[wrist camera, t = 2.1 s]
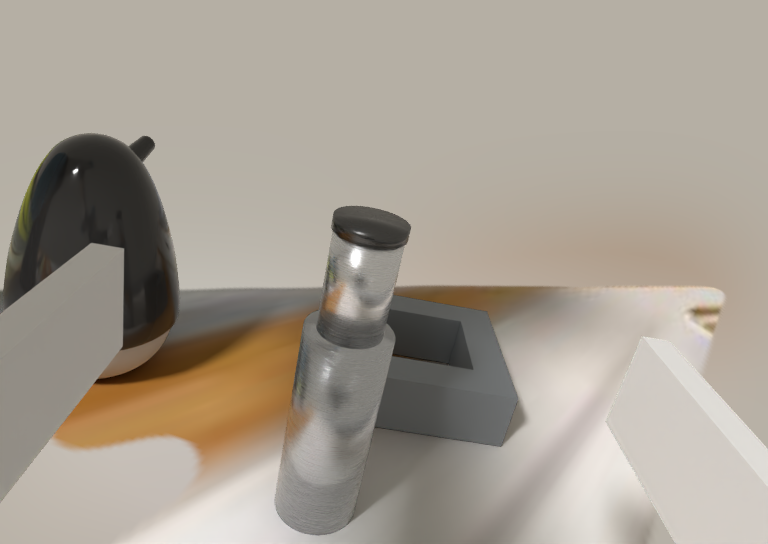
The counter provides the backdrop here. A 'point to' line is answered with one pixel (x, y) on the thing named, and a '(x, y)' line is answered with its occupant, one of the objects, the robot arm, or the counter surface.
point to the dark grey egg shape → (100, 234)
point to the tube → (341, 372)
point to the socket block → (446, 374)
